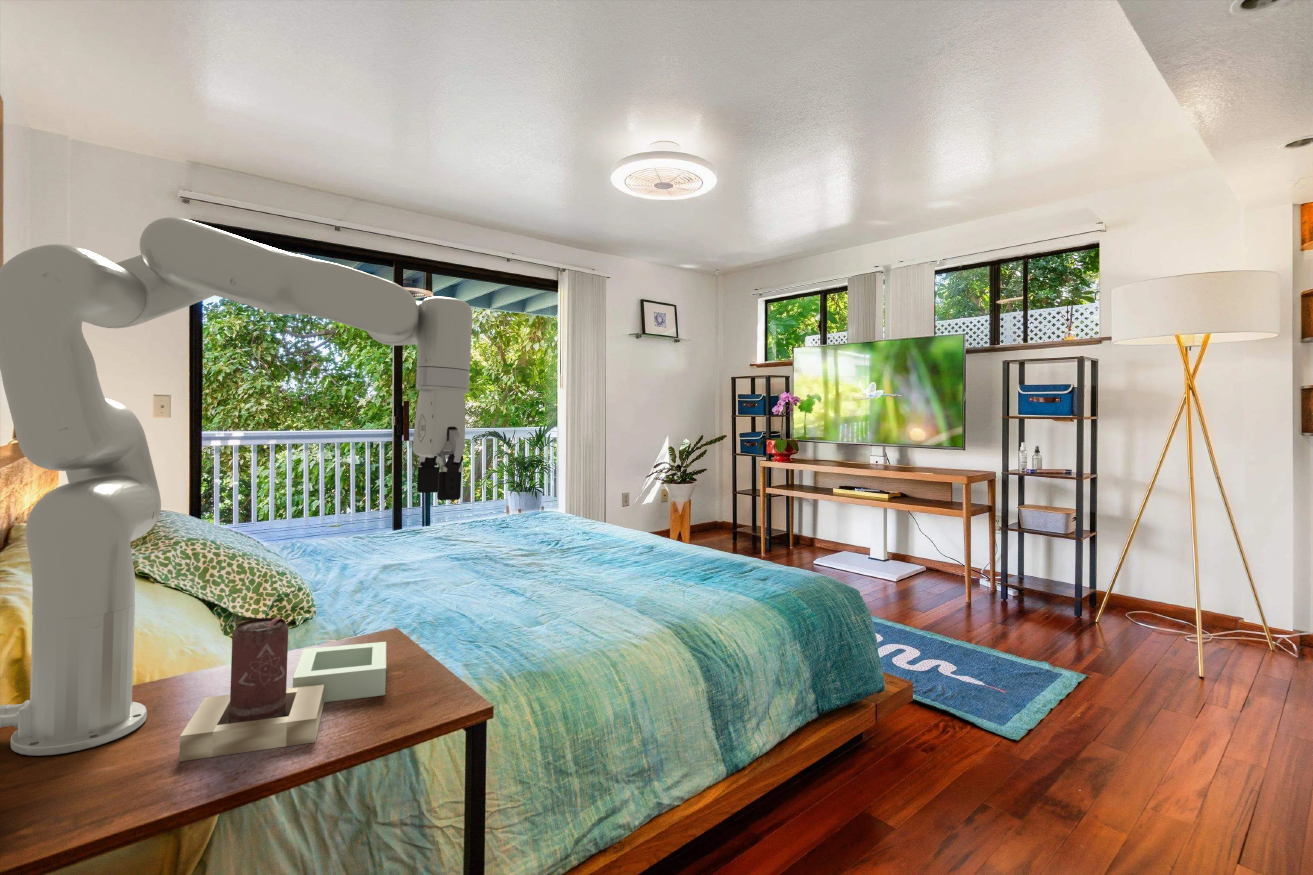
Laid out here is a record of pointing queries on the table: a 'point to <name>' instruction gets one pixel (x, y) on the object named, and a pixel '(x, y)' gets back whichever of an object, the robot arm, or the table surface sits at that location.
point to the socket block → (251, 726)
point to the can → (259, 670)
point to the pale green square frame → (344, 670)
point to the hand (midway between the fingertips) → (437, 495)
